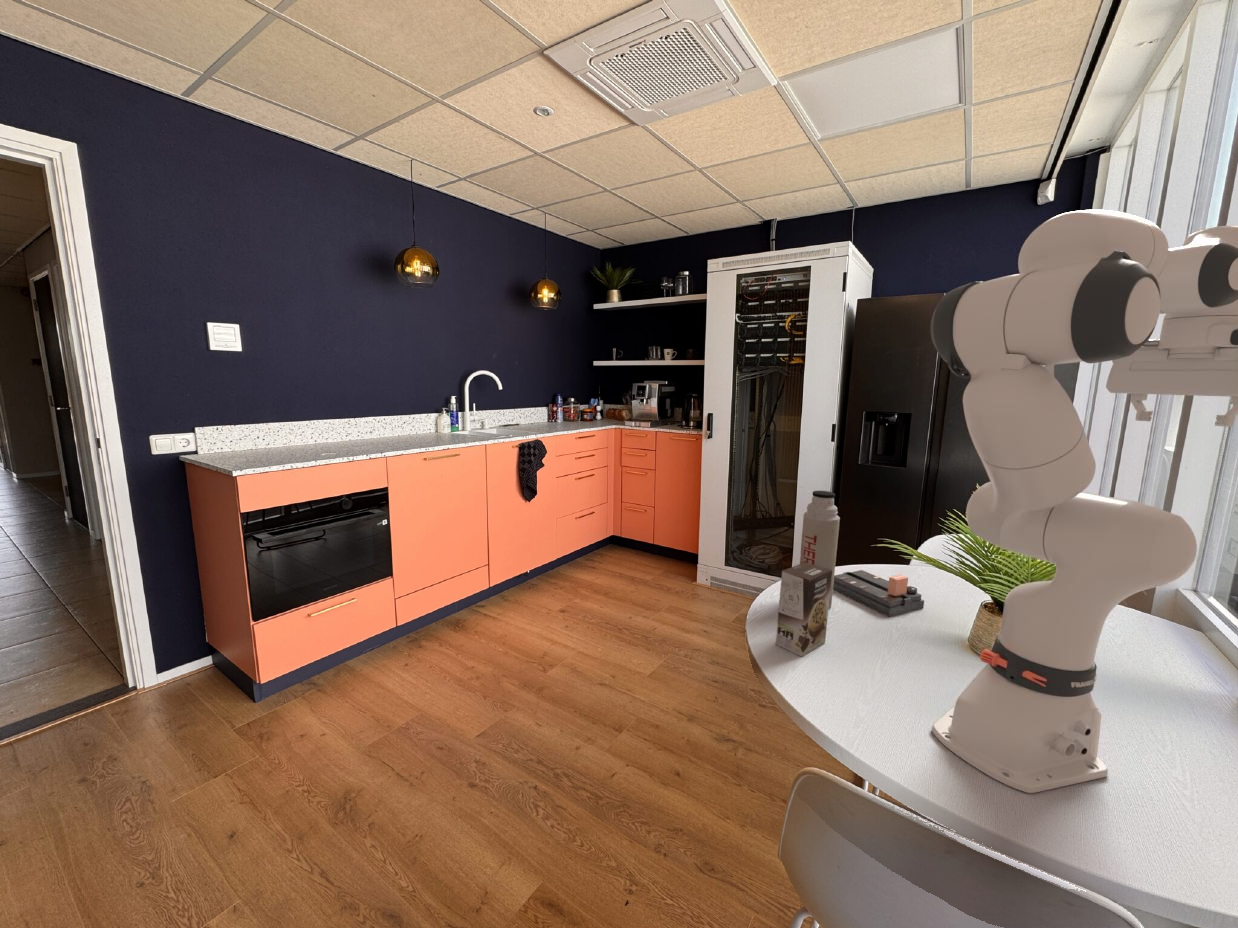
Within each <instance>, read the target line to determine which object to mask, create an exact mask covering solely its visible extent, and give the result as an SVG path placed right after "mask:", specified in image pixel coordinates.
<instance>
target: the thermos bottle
mask: <svg viewBox="0 0 1238 928" xmlns="http://www.w3.org/2000/svg"><path fill="white" fill-rule="evenodd" d="M835 497H836V493H834V492H833V491H828V490H813V491H812V497H811V502H810V503H808V504H807V506H806V512H804V513H803V517H802V519H803V520H802V532H801V542H800V543H801V544H800V558H799V559H800V560H799V564H802V563H804V562H806V563H809V564H812V565H817V566H820V567H824V568H827V569H830V570H832V578H831V588H830V598H829V608H828V611H829V610H830V609H831V608H832V605H833V595H834V594H833V592H834V590H833V583H834V575H835V572H836V562H837V554H838V553H837V550H838V542H839V541H838V539H839V531H840V520H841V517H840V516H839V515H838V514H839V512H838V507H837V506H836V505H835Z"/></svg>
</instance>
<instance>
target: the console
mask: <svg viewBox="0 0 1238 928" xmlns="http://www.w3.org/2000/svg"><path fill="white" fill-rule="evenodd" d="M888 585H889V580H887V579H885V578H882V577H880V576H879V575H874V574H872V573H870V572H868V571H865V570H863V569H860V570H856V571H846V572H842V573H841V574H836V575H835V574H834V583H833V592H835V593H838V594H841V595H842V596H845V597H847V598H849V599H850V600H853V601H854V602H857V603H858V604H860V605H862V606H865V607H867V608H869V609H870V610H873V611H875V612H878V613H880V614H881V615H884V616H886V617H888V618H891V617H895V616H899V615H904V614H907V613H910V612H915V611H918V610H919V611H920V610H923V609H924V606H925V600H923V599H922V594H920V593H918V588H917V587H916V586H911V585H909V586H908V585H907V592H906V594H902V598H900V597H898V596H894V595H891V594H889V593H888Z"/></svg>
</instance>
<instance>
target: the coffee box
mask: <svg viewBox="0 0 1238 928" xmlns="http://www.w3.org/2000/svg"><path fill="white" fill-rule="evenodd" d="M831 578H832V570H830V569H827V568H824V567H820V566H817V565H812V564H809V563H806V562H804V563H802V564H800V563H799V564H797V565H794V566H791V567H789V568H786V569H783V570H781V580H780V590H779V591H780V592H779V603H778V613H777V614H778V615H777V625H776V636H775V645H777V646H778V647H781V648H783V649H785V650H787V651H789V652H792V653H793V654H795V655H797V656H799V657H803V656H806V655H807V654H809V653H810V652H812V651H814V650H816V649H817V648H819V647H821V646H822V645H824V644H825V643H826V637H827V629H828V618H829V617H828V616H829V610H828V608H829V598H830V588H831Z"/></svg>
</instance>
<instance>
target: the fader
mask: <svg viewBox="0 0 1238 928" xmlns="http://www.w3.org/2000/svg"><path fill="white" fill-rule="evenodd" d="M888 577H889V579H888V581H889V585H888V593H889V594H891V595H894V596H898V597H900V598H902V594H906V592H907V586H908V584H909V577H907V576H905V575H902V574H898V575H893V576H892V575H891V576H888Z"/></svg>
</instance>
